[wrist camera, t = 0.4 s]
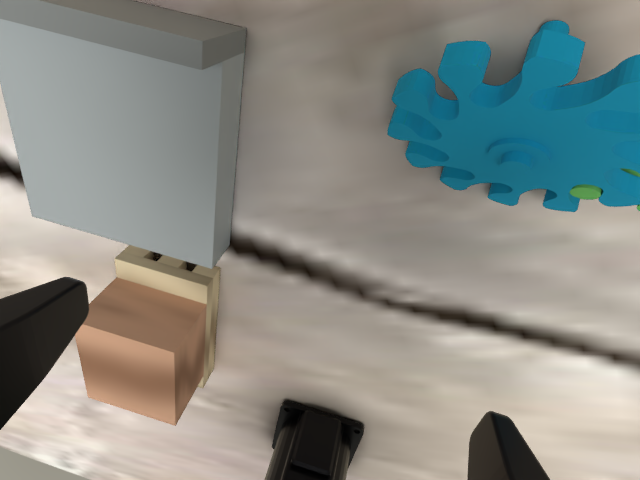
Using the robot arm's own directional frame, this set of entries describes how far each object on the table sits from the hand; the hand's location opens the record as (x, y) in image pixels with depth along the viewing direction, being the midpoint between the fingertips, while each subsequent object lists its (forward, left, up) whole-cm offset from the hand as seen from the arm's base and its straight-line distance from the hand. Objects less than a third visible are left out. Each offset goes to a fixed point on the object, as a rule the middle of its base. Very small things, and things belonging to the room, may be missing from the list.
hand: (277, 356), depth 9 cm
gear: (+3, -6, -14) cm, 16 cm away
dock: (-3, +12, -14) cm, 18 cm away
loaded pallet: (-15, +10, -14) cm, 23 cm away
